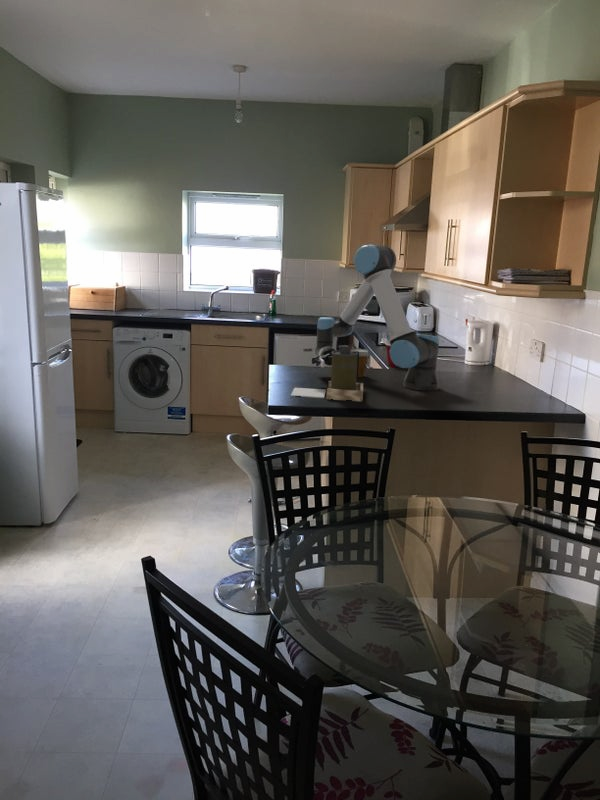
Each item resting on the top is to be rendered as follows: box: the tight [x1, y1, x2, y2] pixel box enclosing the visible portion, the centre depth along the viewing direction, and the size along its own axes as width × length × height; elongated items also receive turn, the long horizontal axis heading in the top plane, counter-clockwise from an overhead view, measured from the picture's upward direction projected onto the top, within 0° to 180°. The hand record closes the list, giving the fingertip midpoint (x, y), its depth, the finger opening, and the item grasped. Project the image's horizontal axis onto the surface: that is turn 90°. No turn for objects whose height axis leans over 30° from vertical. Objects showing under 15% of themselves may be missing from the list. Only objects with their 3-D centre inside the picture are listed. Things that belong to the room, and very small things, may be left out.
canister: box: [330, 344, 359, 390], centre depth 259 cm, size 11×10×20 cm
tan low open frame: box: [325, 380, 364, 402], centre depth 260 cm, size 14×16×4 cm
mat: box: [290, 387, 327, 399], centre depth 262 cm, size 13×14×1 cm
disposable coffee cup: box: [350, 348, 369, 378], centre depth 302 cm, size 10×10×12 cm
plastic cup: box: [384, 341, 399, 368], centre depth 333 cm, size 11×11×12 cm
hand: (339, 364), depth 267 cm, fingers open, 13 cm apart
